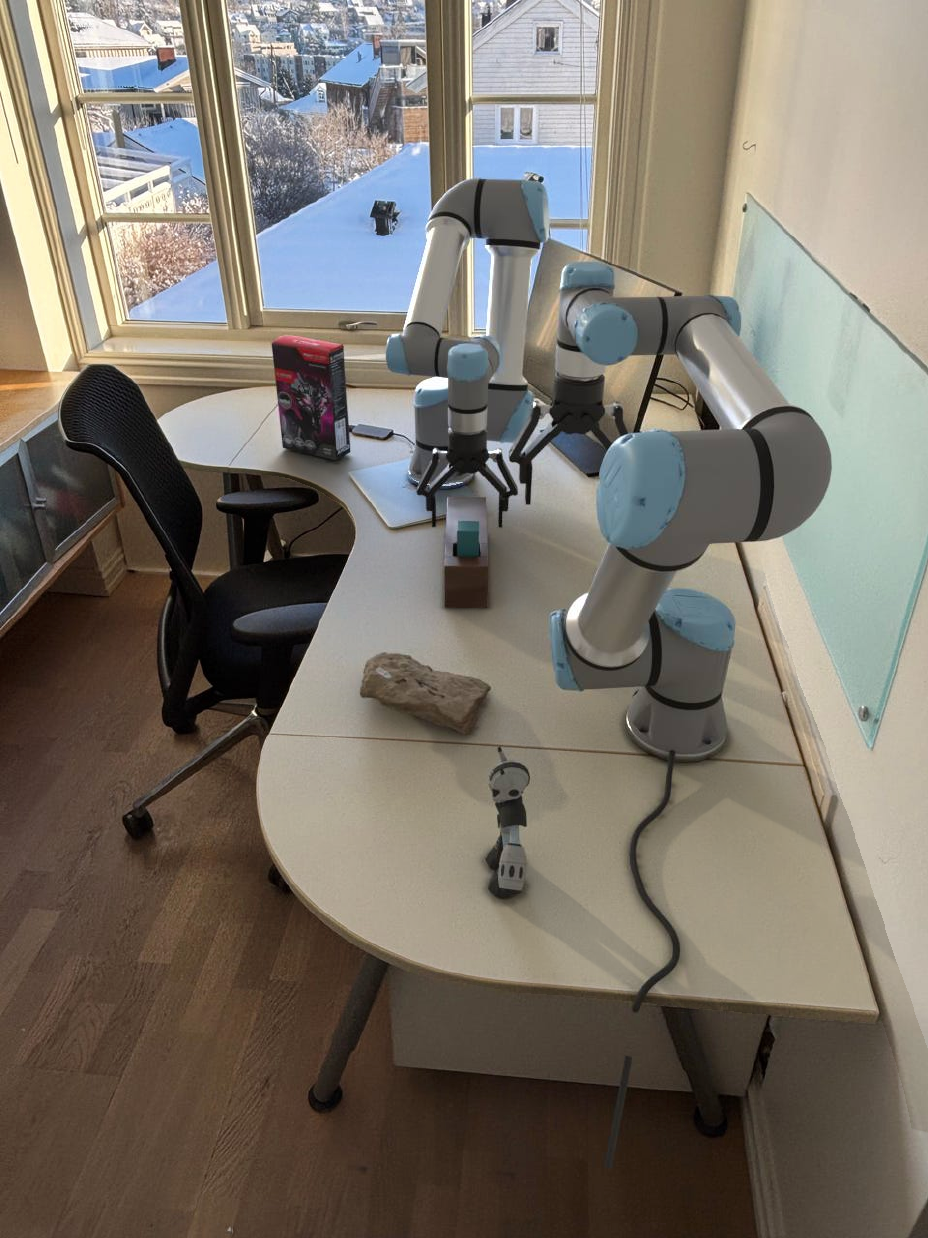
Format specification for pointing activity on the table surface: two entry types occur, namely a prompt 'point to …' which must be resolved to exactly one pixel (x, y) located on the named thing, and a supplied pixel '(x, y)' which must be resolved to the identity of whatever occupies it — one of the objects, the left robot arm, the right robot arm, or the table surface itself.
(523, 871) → the robot
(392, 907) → the table surface
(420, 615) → the table surface
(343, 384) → the graphics card box
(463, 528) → the peg
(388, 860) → the table surface
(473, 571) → the hole block
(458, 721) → the stone
